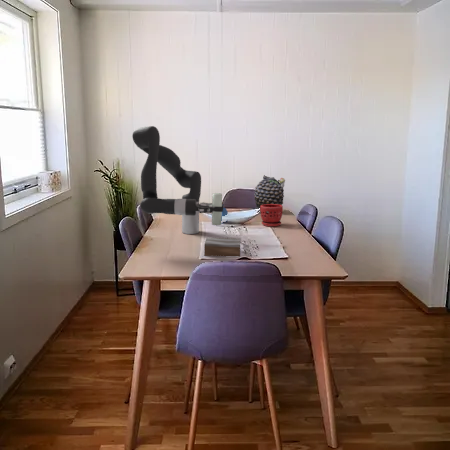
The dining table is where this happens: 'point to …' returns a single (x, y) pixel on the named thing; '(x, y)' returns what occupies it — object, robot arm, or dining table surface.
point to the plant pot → (271, 214)
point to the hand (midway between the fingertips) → (222, 208)
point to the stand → (222, 247)
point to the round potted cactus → (269, 192)
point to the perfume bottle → (224, 211)
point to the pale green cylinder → (216, 203)
